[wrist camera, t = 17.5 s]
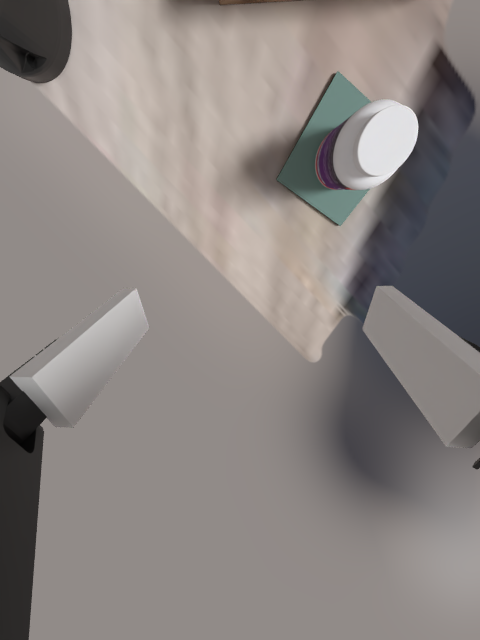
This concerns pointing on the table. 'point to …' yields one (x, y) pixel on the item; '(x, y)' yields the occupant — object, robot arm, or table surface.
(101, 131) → the table surface
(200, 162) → the table surface
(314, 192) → the mat
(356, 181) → the pill bottle
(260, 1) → the crate
